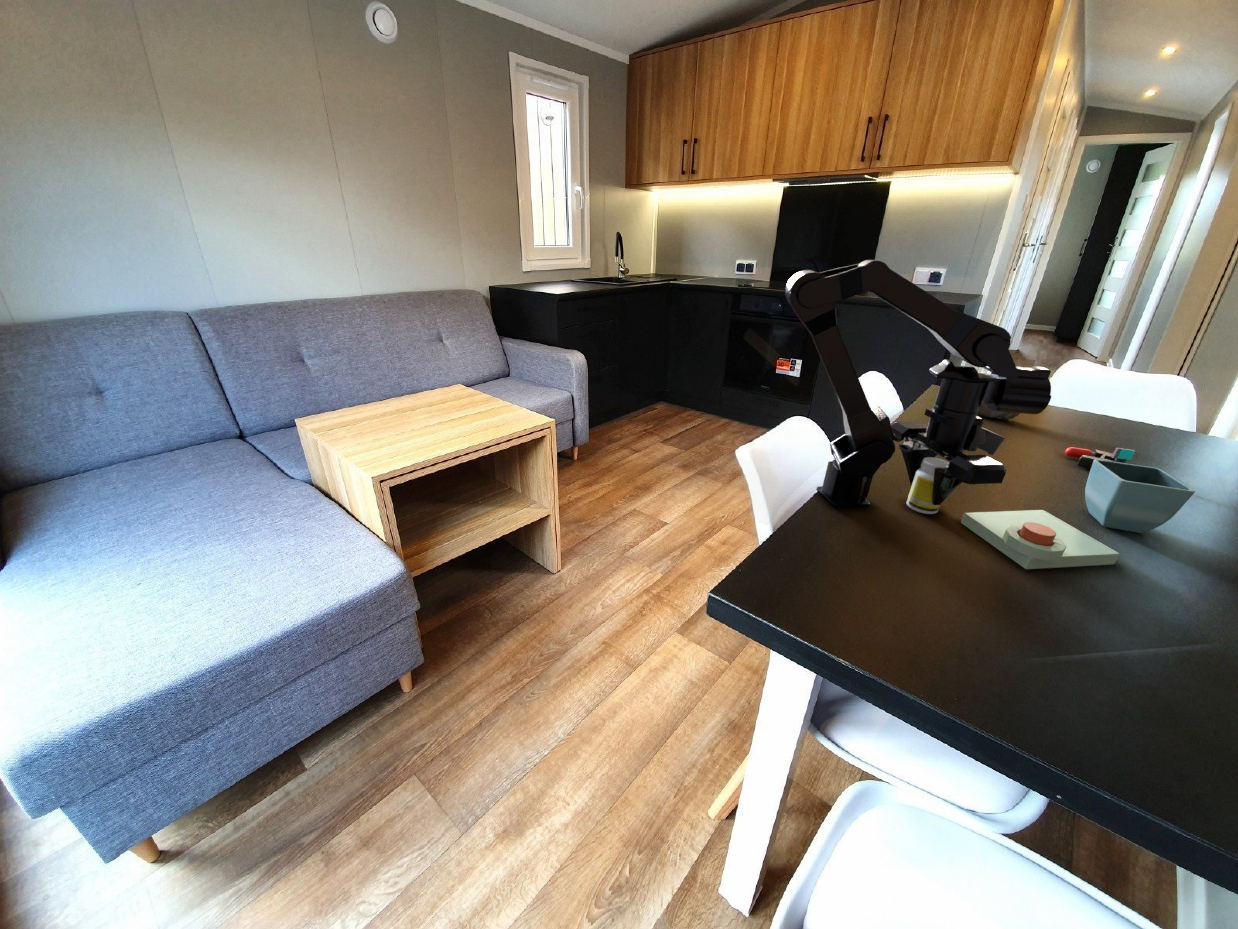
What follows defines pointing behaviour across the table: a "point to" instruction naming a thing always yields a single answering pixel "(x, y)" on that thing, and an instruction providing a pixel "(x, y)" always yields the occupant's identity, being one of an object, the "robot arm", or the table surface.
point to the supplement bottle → (925, 486)
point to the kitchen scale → (1062, 552)
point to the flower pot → (1133, 495)
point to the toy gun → (1098, 455)
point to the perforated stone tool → (995, 413)
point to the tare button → (1037, 533)
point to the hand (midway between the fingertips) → (925, 497)
